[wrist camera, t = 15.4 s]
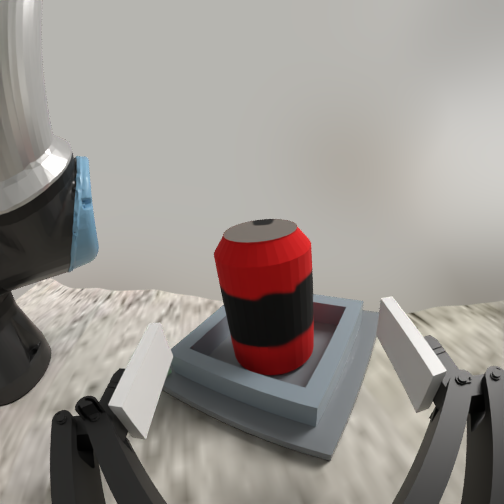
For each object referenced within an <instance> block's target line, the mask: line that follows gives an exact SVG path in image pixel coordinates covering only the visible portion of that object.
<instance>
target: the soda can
mask: <svg viewBox="0 0 504 504" xmlns="http://www.w3.org/2000/svg"><path fill="white" fill-rule="evenodd" d="M214 258H215V262H216V268H217V273H218V278H219V283H220V288H221V293H222V297H223V302H224V307H225V312H226V317H227V321H228V326H229V330H230V335H231V339H232V344H233V348H234V353H235V357H236V359H237V361H238V362H239V363H240V364H241V365H242V366H243V367H244V368H246V369H247V370H249V371H252V372H254V373H257V374H262V375H281V374H285V373H288V372H291V371H293V370H295V369H297V368H298V367H300V366H301V365H303V364H304V363H305V362H306V361H307V360H308V359H309V357H310V356H311V354H312V352H313V347H314V317H313V277H312V254H311V242H310V241H309V239H308V238H307V237H306V236H305V234H303V233H302V231H301V230H300V229H299V228H298V227H297V225H296V224H295V223H294V222H291V221H288V220H281V219H264V220H256V221H250V222H245V223H242V224H238V225H236V226H233V227H231V228H229V229H228V230H226V231H225V232H224V234H223V237H222V239H221V241H220V243H219V244H218V246H217V248H216V250H215V252H214Z"/></svg>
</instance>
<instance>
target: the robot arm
mask: <svg viewBox="0 0 504 504" xmlns="http://www.w3.org/2000/svg"><path fill="white" fill-rule="evenodd" d="M42 2H43V0H0V405H4V404H7V403H10V402H13V401H15V400H17V399H18V398H20V397H22V396H23V395H24V394H26V393H27V392H28V391H29V390H31V389H32V388H33V387H34V386H35V385H36V384H37V382H38V381H39V380H40V379H41V377H42V376H43V374H44V373H45V371H46V369H47V367H48V365H49V362H50V359H51V349H50V346H49V344H48V343H47V341H46V339H45V337H44V335H43V334H42V332H41V331H40V330H39V329H38V328H37V327H36V326H35V325H34V323H33V322H32V321H31V320H30V319H29V318H28V317H27V316H26V315H25V313H24V312H23V311H22V310H21V309H20V308H19V306H18V305H17V304H16V302H15V300H14V297H13V295H12V293H11V291H12V290H15V289H17V288H21V287H23V286H26V285H30V284H33V283H36V282H38V281H42V280H45V279H48V278H50V277H54V276H57V275H60V274H63V273H66V272H71V271H73V269H75V268H77V267H80V266H82V265H85V264H87V263H89V262H91V261H92V260H94V259H95V257H96V256H97V253H98V248H99V247H98V240H97V233H96V227H95V221H94V213H93V206H92V196H91V185H90V172H89V160H88V158H87V157H80V156H79V157H78V156H76V157H75V158H73V153H72V149H71V146H70V144H69V142H68V141H67V140H65V139H63V138H61V137H58V136H56V135H54V134H53V132H52V127H51V122H50V118H49V111H48V105H47V98H46V91H45V83H44V72H43V59H42V31H41V30H42ZM376 336H377V337H378V339H379V341H380V343H381V345H382V346H383V348H384V350H385V352H386V354H387V356H388V358H389V359H390V361H391V363H392V365H393V367H394V369H395V371H396V373H397V375H398V377H399V379H400V381H401V382H402V384H403V386H404V388H405V390H406V392H407V394H408V397H409V399H410V401H411V403H412V405H413V407H414V409H415V411H416V413H417V412H420V411H423V410H426V409H428V408H429V407H430V405H431V404H432V402H434V404H435V406H436V407H435V409H434V410H433V412H432V414H431V416H430V417H429V418H430V419H431V420H430V423H429V425H428V428H427V431H426V434H425V436H424V439H423V441H422V444H421V446H420V449H419V451H418V453H417V456H416V458H415V460H414V462H413V465H412V467H411V469H410V471H409V473H408V475H407V477H406V479H405V481H404V483H403V485H402V487H401V489H400V491H399V492H398V494H397V496H396V498H395V499H394V501H393V503H392V504H439V502H440V500H441V497H442V495H443V493H444V490H445V488H446V486H447V483H448V480H449V478H450V475H451V472H452V470H453V467H454V464H455V461H456V458H457V454H458V451H459V448H460V444H461V441H462V437H463V433H464V429H465V425H466V421H467V452H466V468H465V479H464V487H463V495H462V501H461V504H504V371H503V370H502V369H501V368H500V367H498V366H491V367H489V368H487V370H486V372H485V374H482V375H471V374H470V373H469V372H468V371H465V370H459V369H458V367H457V366H456V365H455V363H454V362H453V360H452V359H451V358H450V356H449V355H448V354H447V352H445V350H444V348H443V347H442V346H441V344H440V343H439V342H438V340H437V339H435V338H434V337H432V336H431V335H429V336H425V337H423V336H422V335H421V333H420V332H419V331H418V329H417V328H416V327H415V325H414V324H413V323H412V321H411V320H410V319H409V317H408V316H407V315H406V313H405V312H404V311H403V310H402V308H401V307H400V306H399V305H398V303H397V302H396V301H395V300H394V298H393V297H392V296H391V297H386V298H381V303H380V311H379V318H378V325H377V332H376ZM172 359H173V354H172V352H171V349H170V347H169V344H168V341H167V339H166V336H165V333H164V330H163V328H162V325H161V323H149V325H148V327H147V329H146V331H145V332H144V334H143V336H142V338H141V340H140V342H139V344H138V346H137V348H136V350H135V351H134V353H133V355H132V357H131V359H130V361H129V363H128V365H127V367H126V369H119V370H118V371H117V372H116V373H115V374H114V375H113V376H112V378H111V380H110V383H109V384H108V386H107V388H106V390H105V392H104V394H103V396H102V398H101V400H100V402H98V400H97V399H96V398H95V397H93V396H86V397H83V398H81V399H80V400H79V401H78V402H77V404H76V406H75V410H76V412H77V413H78V414H79V415H80V416H72V415H71V413H70V412H69V411H67V410H62V411H59V412H57V413H56V414H55V415H54V417H53V419H52V428H51V446H50V482H51V498H52V504H106V503H105V499H104V493H103V488H102V482H101V476H100V469H99V465H100V467H101V470H102V472H103V474H104V477H105V479H106V481H107V483H108V485H109V488H110V490H111V492H112V494H113V496H114V498H115V500H116V502H117V504H167V503H166V502H165V500H164V499H163V497H162V496H161V495H160V493H159V492H158V490H157V489H156V487H155V485H154V484H153V482H152V481H151V479H150V478H149V476H148V474H147V473H146V471H145V469H144V468H143V466H142V464H141V462H140V461H139V459H138V457H137V455H136V453H135V452H134V450H133V448H132V446H131V444H130V442H129V440H128V439H127V438H126V435H127V433H128V432H129V433H130V435H131V436H132V437H133V438H140V439H146V437H147V434H148V431H149V428H150V425H151V421H152V418H153V415H154V412H155V409H156V406H157V403H158V400H159V397H160V394H161V391H162V388H163V385H164V382H165V379H166V376H167V373H168V370H169V367H170V365H171V362H172Z"/></svg>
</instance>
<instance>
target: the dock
mask: <svg viewBox="0 0 504 504" xmlns="http://www.w3.org/2000/svg"><path fill="white" fill-rule="evenodd" d="M313 317H314V347H313V352H312V354H311V356H310V357H309V359H308V360H307V361H306V362H305V363H304V364H303V365H301V366H300V367H298V368H297V369H295V370H293V371H291V372H288V373H285V374H281V375H262V374H257V373H254V372H252V371H249V370H247V369H246V368H244V367H243V366H242V365H241V364H240V363H239V362H238V361H237V359H236V357H235V353H234V348H233V344H232V339H231V335H230V330H229V326H228V321H227V317H226V312H225V307H224V305H223V306H222V307H220V308H219V309H218V310H217V311H216V312H215V313H213V314H212V315H211V316H210V317H209V318H208V319H206V320H205V321H204V322H203V323H202V324H200V325H199V326H198V327H197V328H196V329H195V330H193V331H192V332H191V333H190V334H189V335H187V336H186V337H185V338H184V339H183V340H181V341H180V342H179V343H178V344H177V345H175V346H174V347H173V348H172V349H171V352H172V354H173V359H172V362H171V365H170V367H169V370H168V373H167V376H166V379H165V382H164V385H163V388H162V390H163V391H165V392H167V393H168V394H170V395H172V396H174V397H175V398H177V399H179V400H181V401H183V402H184V403H186V404H188V405H190V406H192V407H194V408H196V409H197V410H199V411H201V412H203V413H205V414H207V415H209V416H211V417H213V418H215V419H218V420H220V421H222V422H224V423H226V424H228V425H230V426H233V427H235V428H237V429H240V430H242V431H244V432H247V433H249V434H251V435H254V436H256V437H259V438H261V439H264V440H267V441H269V442H272V443H275V444H278V445H280V446H283V447H286V448H289V449H292V450H295V451H298V452H302V453H305V454H308V455H311V456H315V457H319V458H322V459H326V460H331V458H332V456H333V454H334V452H335V450H336V448H337V446H338V443H339V441H340V439H341V437H342V434H343V432H344V430H345V427H346V425H347V423H348V420H349V418H350V415H351V413H352V410H353V407H354V405H355V402H356V399H357V397H358V394H359V391H360V388H361V385H362V383H363V380H364V377H365V374H366V370H367V367H368V364H369V361H370V358H371V354H372V351H373V347H374V344H375V340H376V337H377V336H376V332H377V325H378V318H379V312H372V311H364V310H363V301H358V300H351V299H344V298H337V297H330V296H322V295H315V294H313Z"/></svg>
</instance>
